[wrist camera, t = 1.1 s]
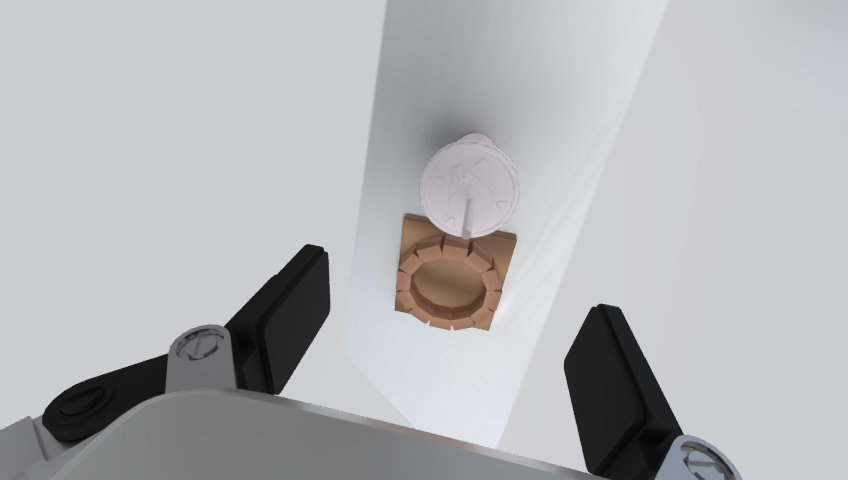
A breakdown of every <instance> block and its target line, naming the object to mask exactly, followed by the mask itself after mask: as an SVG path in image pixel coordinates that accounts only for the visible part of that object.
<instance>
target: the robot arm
mask: <svg viewBox="0 0 848 480" xmlns="http://www.w3.org/2000/svg"><path fill="white" fill-rule="evenodd" d="M329 285H330V284H329V259H328V253H327V252H325V251H324V248H323V247H320V246H316V245H311V244H306V245H305V246H304V247H303V248H302V249H301V250H300V251H299V252H298V253H297V254H296V255H295V256H294V257H293V258H292V259H291V260H290V262H289V263H287V265H286V266H285V267H284V268H283V269H282V270H281V271H280V272H279V273H278V274H277V275H274V276H273V277H271V278H270V280H268V281H267V283H265V285H264V286H263V287H262V288H261V289H260V290H259V291H258V292H257V293H256V294H255V295H254V296H253V297H252V298H251V299H250V300H249V301H248V302H247V303H246V304H245V305H244V306H243V307H242V309H240V310H239V311H238V312H237V313H236V314H235V315H234V317H233V318H231V320H230V321H229V322H228V323H227V324H226V325H225V326H224V327H222V326H219V325H204V326H199V327H196V328H193V329H190V330H188V331H187V332H185V333H183V334H182V335H180V336H179V337H178V338H177V339H175V341H174V342H173V344H172V345H171V346H170V349H169V352H168V354H165V355H162V356H159V357H156V358H153V359H149V360H146V361H143V362H140V363H137V364H134V365H131V366H128V367H125V368H122V369H119V370H116V371H112V372H110V373H106V374H103V375H100V376H97V377H94V378H91V379H88V380H85V381H83V382H80V383H78V384H75V385H74V386H72V387H70V388H69V389H67V390H65V391H64V392H62V393H61V394H60V395H59V396H57V397H56V398H55V399H54V400H53V401H52V402H51V403H50V404H49V405H48V407H47V408H46V409H45V412H44V414H43V415H41V416H39V417H37V418H35V419H32V418H31V417H30V416H28V417H26V418H24V419H22V420H20V421H18V422H16V423H14V424H12V425H10V426H8V427H6V428H4V429H2V430H0V480H742V478H741V476H740V474H739V472H738V471H737V469H736V468H735V466H734V465H733V464H732V463H731V462H730V460H729V459H728V458H727V457H726V456H725V455H724V454H723V453H721V452H720V451H719V450H718V449H717V448H715V447H714V446H712V445H711V444H709V443H708V442H706V441H704V440H702V439H700V438H697V437H695V436H689V435H684V434H683V432H682V430H681V428H680V426H679V424H678V422H677V420H676V418H675V416H674V414H673V412H672V410H671V408H670V406H669V404H668V402H667V400H666V398H665V396H664V394H663V392H662V391H661V388H660V386H659V384H658V382H657V380H656V378H655V376H654V374H653V372H652V370H651V368H650V366H649V364H648V362H647V360H646V358H645V357H644V355H643V353H642V351H641V349H640V347H639V345H638V343H637V341H636V339H635V337H634V335H633V333H632V331H631V329H630V327H629V325H628V323H627V321H626V319H625V317H624V315H623V313H622V311H621V309H620V308H619V307H615V306H611V305H606V304H599V305H597V307H592V308H591V309H590V311H589V313H588V315H587V317H586V319H585V321H584V323H583V325H582V327H581V329H580V331H579V333H578V335H577V336H576V339H575V341H574V342H573V345H572V346H571V348H570V350H569V352H568V354H567V356H566V358H565V360H564V371H565V375H566V380H567V385H568V389H569V393H570V398H571V402H572V407H573V411H574V415H575V419H576V424H577V428H578V432H579V437H580V441H581V446H582V451H583V455H584V459H585V464H586V467H587V470H588V472H589V473H591V474H593V475H591V474H588V473H584V472H580V471H577V470H573V469H569V468H566V467H562V466H558V465H554V464H550V463H546V462H543V461H539V460H535V459H531V458H527V457H523V456H519V455H515V454H511V453H507V452H503V451H500V450H496V449H492V448H488V447H484V446H480V445H476V444H472V443H468V442H464V441H460V440H456V439H452V438H448V437H444V436H440V435H436V434H432V433H428V432H424V431H420V430H416V429H412V428H408V427H404V426H400V425H396V424H392V423H388V422H384V421H380V420H376V419H372V418H368V417H364V416H359V415H355V414H351V413H347V412H343V411H339V410H335V409H331V408H327V407H322V406H319V405H314V404H310V403H306V402H301V401H297V400H292V399H288V398H284V397H279V396H275V395H274V394H276V395H278V394H280V393H281V391H282V390H283V388H284V386H285V385H286V383H287V382H288V380H289V379H290V377H291V375H292V374H293V372H294V370H295V369H296V367H297V365H298V364H299V362H300V361H301V359H302V357H303V356H304V354H305V353H306V351H307V349H308V348H309V346H310V344H311V343H312V341H313V340H314V338H315V336H316V335H317V333H318V331H319V330H320V328H321V327H322V325H323V323H324V322H325V320H326V318H327V317H328V315H329V312H330V286H329Z"/></svg>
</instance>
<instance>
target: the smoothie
mask: <svg viewBox="0 0 848 480" xmlns="http://www.w3.org/2000/svg"><path fill="white" fill-rule="evenodd" d="M419 197H420V202H421V205H422V208H423V210H424V212H425V214H426V215H427V217H428V218H429V219H430V221H431V222H432V223H433V224H434V225H435V226H437V227H438V228H439V229H441V230H442V231H444V232H446V233H448V234H451V235H454V236H458V237H462V238H463V239H470V238H475V237H481V236H485V235H488V234H490V233H492V232H494V231H496V230H498V229H499V228H501V227H502V226H503V225H504V224H505V223H506V222H507V221H508V220H509V219H510V217H511V216H512V214H513V213H514V211H515V209H516V206H517V203H518V199H519V179H518V174H517V171H516V169H515V167H514V165H513V163H512V161H511V160H510V159H509V157H508V156H507V155H506V154H505V153H504V152H503V151H502V150H500V149H499V148H497V147H495V145H494V144H493V142H492V141H491V140H490V139H489V138H488V137H487V136H485V135H483V134H480V133H470V134H467V135H465V136H463V137H462V138H461V139H459V140H458V141H457V142H453V143H450V144H448V145H446V146H445V147H443V148H441V149H439V150H438V151H437V152H436V153H435V154H434V155H433V156H432V157H431V158H430V159H429V161H428V162H427V164H426V166H425V168H424V170H423V173H422V176H421V180H420V185H419Z"/></svg>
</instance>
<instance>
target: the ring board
mask: <svg viewBox="0 0 848 480" xmlns="http://www.w3.org/2000/svg"><path fill="white" fill-rule="evenodd" d="M516 241H517V238H516V234H511V233H505V232H500V231H494V232H492V233H490V234H488V235H485V236H481V237H475V238H470V239H463V238H462V237H458V236H454V235H451V234H448V233H446V232H444V231H442V230H441V229H439V228H438V227H437V226H435V225H434V224H433V223H432V222H431V221H430V219H429V218H426V217H421V216H415V215H410V214H406V215H405V217H404V220H403V230H402V240H401V251H400V261H399V269H398V273H397V284H396V289H397V291H396V301H395V311H400V312H405V313H409V314H412V315H413V316H415V317H416V318H418V319H419V320H420V321H422V322H423V323H425V324H426V323H427V322H428V321H429V320H430V325H429V326H433V327H438V328H442V329H447V330H450V329H451V324H452V326H453V328H454V330H459V329H465V328H471V327H474V328H478V329H483V330H487V331H489V329H490V325H491V322H492V319H493V316H494V312H495V310H497V307H498V303H499V300H500V297H501V294H502V287H503V283H504V280H505V277H506V274H507V271H508V267H509V264H510V261H511V258H512V254H513V251H514V248H515V245H516Z"/></svg>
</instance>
